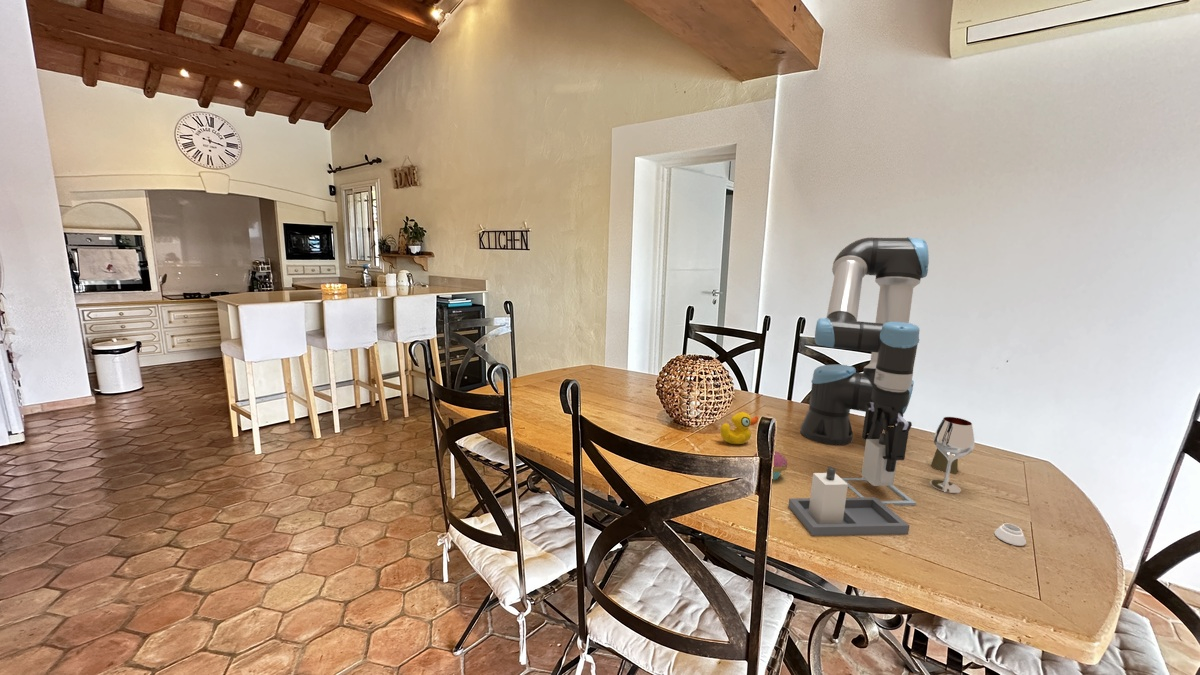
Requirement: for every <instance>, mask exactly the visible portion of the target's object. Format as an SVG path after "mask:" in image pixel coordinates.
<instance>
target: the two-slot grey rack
mask: <svg viewBox="0 0 1200 675" xmlns="http://www.w3.org/2000/svg"><path fill="white" fill-rule="evenodd" d="M881 501H882V500H880V499H879V498H878V497H877V496H876V497H875V496H873V497H866V496H864V497H862V498H860V497H846V502H845V509H844V517H843V524H817V523H816V522H815V520H814V519H813V518H812V517H811V516H810V515H809V513H808V512H809V504H810V497H806V498H805V497H803V498H800V497H799V498H792V497H791V498H789V499H788V508H789V509H790V510H791V512H792V513H793V514H794V515H795V517H796V518H797V519H798V520H799V521H800V523H801V524H802V525H803V526H804V527H805V529H806V530H807V531H808V533H809V534H810V535H811V537H822V536H823V537H826V536H827V537H829V536H836V537H837V536H875V535H876V536H880V535H881V536H882V535H885V536H887V535H889V536H890V535H909V531H910V524H908V523H907V522H906V521H905V520H903V519H902V518H901V517H900V516H899V515H898V514H897V513H895V512H894V510H892V509H891V508H890V507H889V506H887V504H884V503H882V502H881Z"/></svg>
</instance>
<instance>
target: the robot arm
mask: <svg viewBox="0 0 1200 675" xmlns="http://www.w3.org/2000/svg"><path fill="white" fill-rule="evenodd" d="M928 247H929V246H928V243H927V241H926V240H924V239H923V238H916V237H915V238H913V237H863V238H860V239H857V240H855V241H853V242H851V243H849V244H848V245H847V246H845V247H844V248H843V249H841V251H840V252H839V253H838V254H837V255H836V257H835V258H834V260H833V263H832V269H831V270H832V271H831V272H832V274H833V276H834V277H833V282H832V287H831V288H832V289H831V292H830V297H829V302H828V308H827V313H826V317H823V318H822V317H820V318H818V320H817V321H816V324H815V331H814V343H815V344H816V346H817V345H818V346H822V347H827V348H835V349H843V350H844V349H845V350H855V351H860V352H862V351H863V352H870V353H871V354H870V361H869V363H868V364H867V365H865V366H864V367H863V372H856V371H857V370H856V368H855V367H854V366H852V365H848V364H838V363H837V364H835V363H834V364H824V365H820V366H818V367H816V368H815V369H814V371H813V374H812V379H811V390H810V398H809V407H808V411H807V412H806V415H805V417H804V419H803V421H802V423H801V425H800V434H801V435H802V436H803V437H804V438H806V439H808V440H810V441H813V442H816V443H819V444H823V445H829V446H847V445H849V444H852V442H853V438H854V432H853V428H852V424H851V420H850V411H851V410H853V411H859V412H864V413H865V416H864V421H863V425H862V426H863V428H862V434H861V439H863V440H864V441H866V439H879V438H880V433H885V454H886V456H883V458H882V464H881V471H880V477H879V482H881V483H886V482H892V477H893V472H894V471H895V465H896V460H897V461H905V459H906V452H907V444H908V440H909V431H910V430H911V428H912V426H913V425H912V424H913V423H912V422H911V421H906V420H905V418H904V415H905V413H906V412H907V409H908V406H909V404H910V400H911V397H912V393H913V390H914V383H915V382H914V380H913V376H914V367H915V361H916V357H917V350H918V344H919V343H920V331H921V330H920V327H919V326H918V325H916V324H913V323H911V322H910V317H911V316H910V315H911V309H912V301H913V300H912V299H913V294H914V288H916V286H918V285H920V283H921V279H923V278H926V277H927V275H928V273H929V263H930V262H929V259H930V258H929V248H928ZM865 276H875V283H876V284H877V285H878V286H879V294H878V301H877V309H876V317H875V322H867V321H858V317H859V316H858V314H859V309H860V308H859V307H860V300H861V294H862V293H861V292H862V284H863V278H864V277H865ZM891 453H892V454H891Z"/></svg>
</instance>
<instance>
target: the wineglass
mask: <svg viewBox="0 0 1200 675" xmlns="http://www.w3.org/2000/svg"><path fill="white" fill-rule="evenodd" d="M974 435H975V434H974V428H973V423H972V422H971V421H969V420H967V419H965V418H960V417H954V416H943V417H942V420H941V421H940V423H939V425H938V427H937V429H936V430H935V433H934V435H933V444H934V445H935V447H936V449H937V448H938V450H939V451H940V452H941V453H942V454H943V455H944V456H945V457H946V458H947V460H948V464H947V469H946V472H945V476H944V479H943V480H942V479H931V480H930V483H929V484H930V486H932V487H933V488H935V489H937V490H939V491H941V492H945V493H948V494H960V493H961V492H962V489H961V488H960V487H959V486H958V485H956V484H955V483H952V482H950V481H949V479H950V474H951V473H950V469H951V464H952V462H953V461H954V460H955V459H958V460H959V459H961V458H963V457H966V456H968V455H969V454H971V453H972V452H973V451H974V449H975V446H976V445H975V436H974Z"/></svg>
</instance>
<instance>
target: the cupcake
mask: <svg viewBox="0 0 1200 675" xmlns="http://www.w3.org/2000/svg"><path fill="white" fill-rule="evenodd" d="M774 451H775V455H774V467H773V480H772V481H776V480H778V479H779V478H780V475H781V473H782V472H783V471H786V470H787V469H788V461H787V459H786V458H785V456H784V455H783V454H782V453H780V452H777V451H776V450H774ZM753 456H757V452H756V453H754V455H753Z"/></svg>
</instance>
